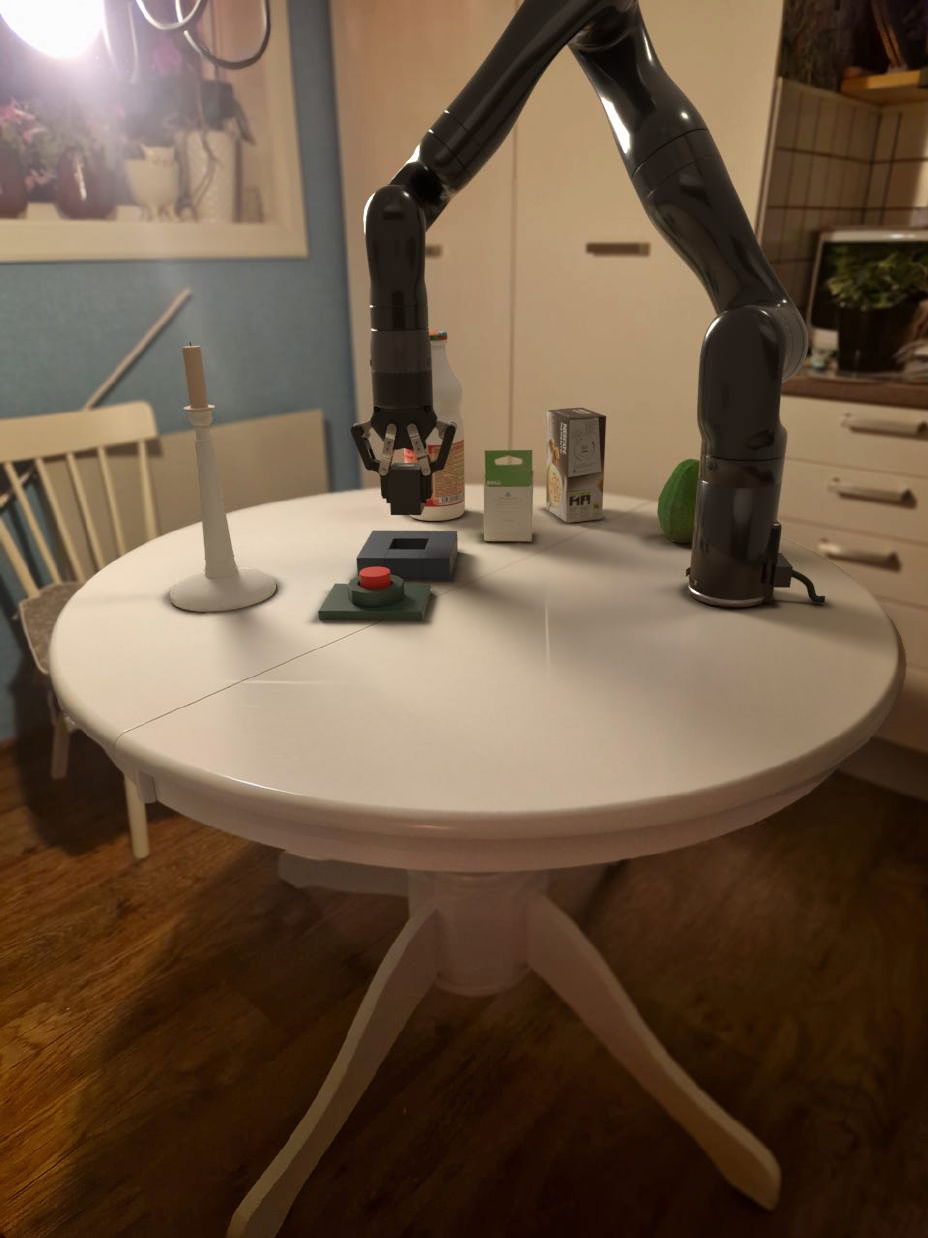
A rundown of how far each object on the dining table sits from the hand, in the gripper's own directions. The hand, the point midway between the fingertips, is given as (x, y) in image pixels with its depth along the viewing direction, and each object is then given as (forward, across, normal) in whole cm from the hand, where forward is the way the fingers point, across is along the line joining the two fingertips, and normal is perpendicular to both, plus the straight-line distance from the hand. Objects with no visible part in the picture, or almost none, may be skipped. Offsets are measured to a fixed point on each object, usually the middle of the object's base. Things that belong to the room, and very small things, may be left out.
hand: (407, 501), depth 113 cm
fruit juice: (+9, -1, -25) cm, 27 cm away
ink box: (+9, -13, -12) cm, 20 cm away
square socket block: (+9, 0, 0) cm, 9 cm away
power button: (+6, +2, +15) cm, 17 cm away
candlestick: (+9, +22, +11) cm, 26 cm away
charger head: (+1, 0, 0) cm, 1 cm away
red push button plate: (+9, +2, +15) cm, 18 cm away
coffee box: (+9, -23, -25) cm, 35 cm away
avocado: (+9, -38, -11) cm, 41 cm away
